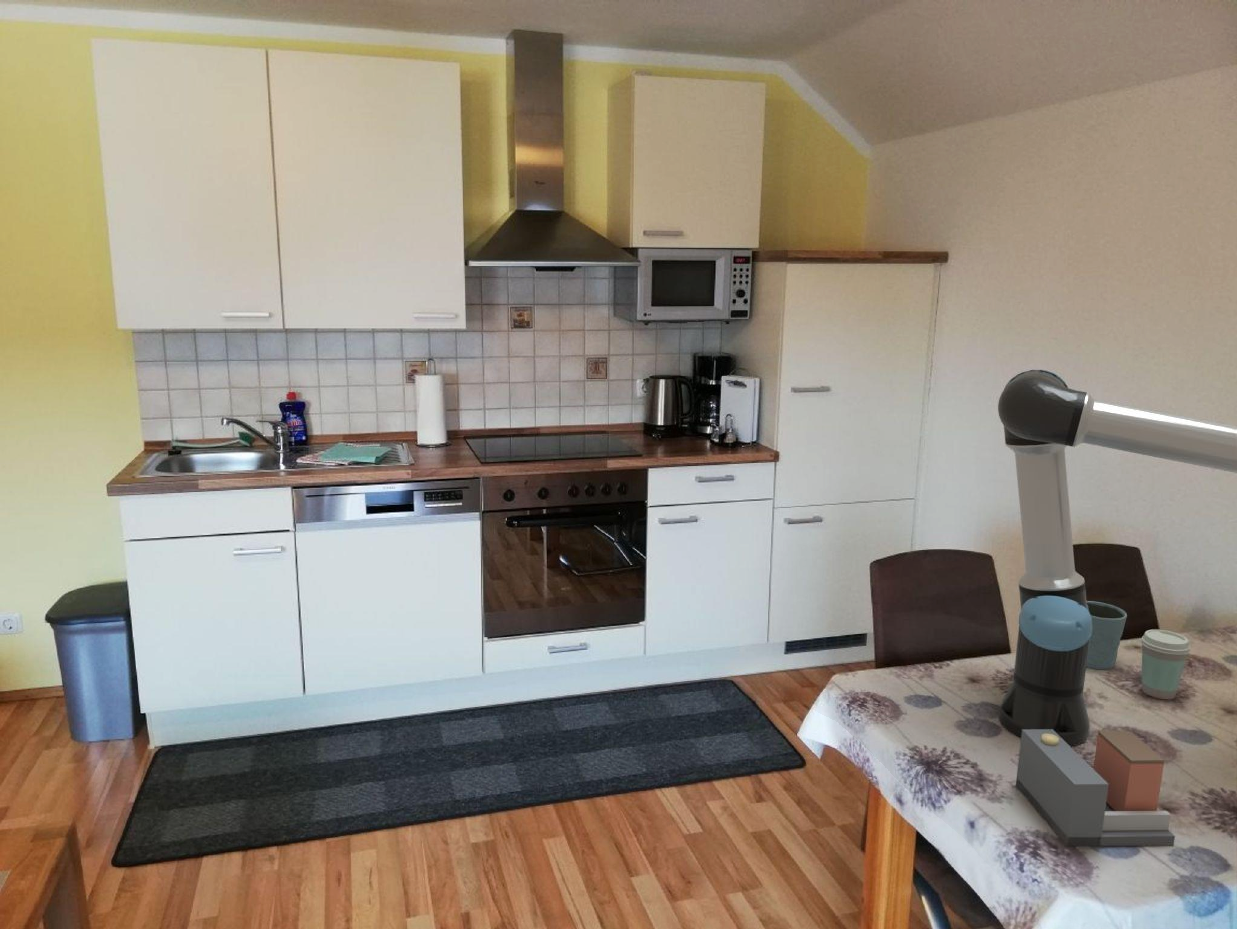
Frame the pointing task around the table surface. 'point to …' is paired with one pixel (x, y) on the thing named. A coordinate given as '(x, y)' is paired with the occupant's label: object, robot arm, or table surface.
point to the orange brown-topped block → (1128, 771)
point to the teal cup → (1104, 634)
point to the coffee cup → (1163, 662)
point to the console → (1080, 797)
